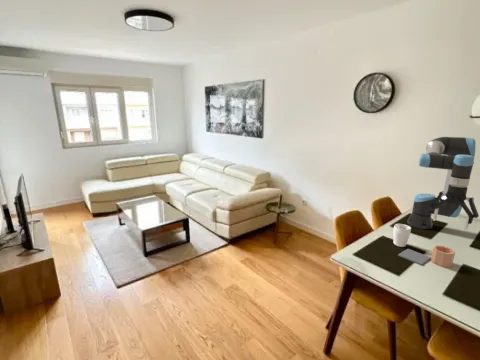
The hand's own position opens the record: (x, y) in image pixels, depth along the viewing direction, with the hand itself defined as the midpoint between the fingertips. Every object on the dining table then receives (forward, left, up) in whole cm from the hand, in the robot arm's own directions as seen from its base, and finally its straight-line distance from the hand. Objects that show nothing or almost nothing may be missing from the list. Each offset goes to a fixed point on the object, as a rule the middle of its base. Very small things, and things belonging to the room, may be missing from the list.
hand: (449, 224), depth 137 cm
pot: (0, 0, -23) cm, 23 cm away
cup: (-3, -23, -23) cm, 33 cm away
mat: (+6, -11, -23) cm, 26 cm away
